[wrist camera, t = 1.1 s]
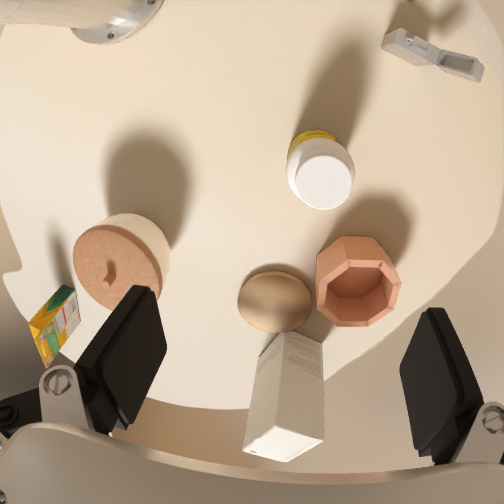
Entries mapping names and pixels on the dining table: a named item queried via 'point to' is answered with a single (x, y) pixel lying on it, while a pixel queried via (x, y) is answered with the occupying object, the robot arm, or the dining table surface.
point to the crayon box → (55, 323)
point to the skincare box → (287, 399)
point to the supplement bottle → (319, 169)
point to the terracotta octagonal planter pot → (355, 282)
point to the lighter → (431, 55)
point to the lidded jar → (121, 258)
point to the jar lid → (274, 301)
